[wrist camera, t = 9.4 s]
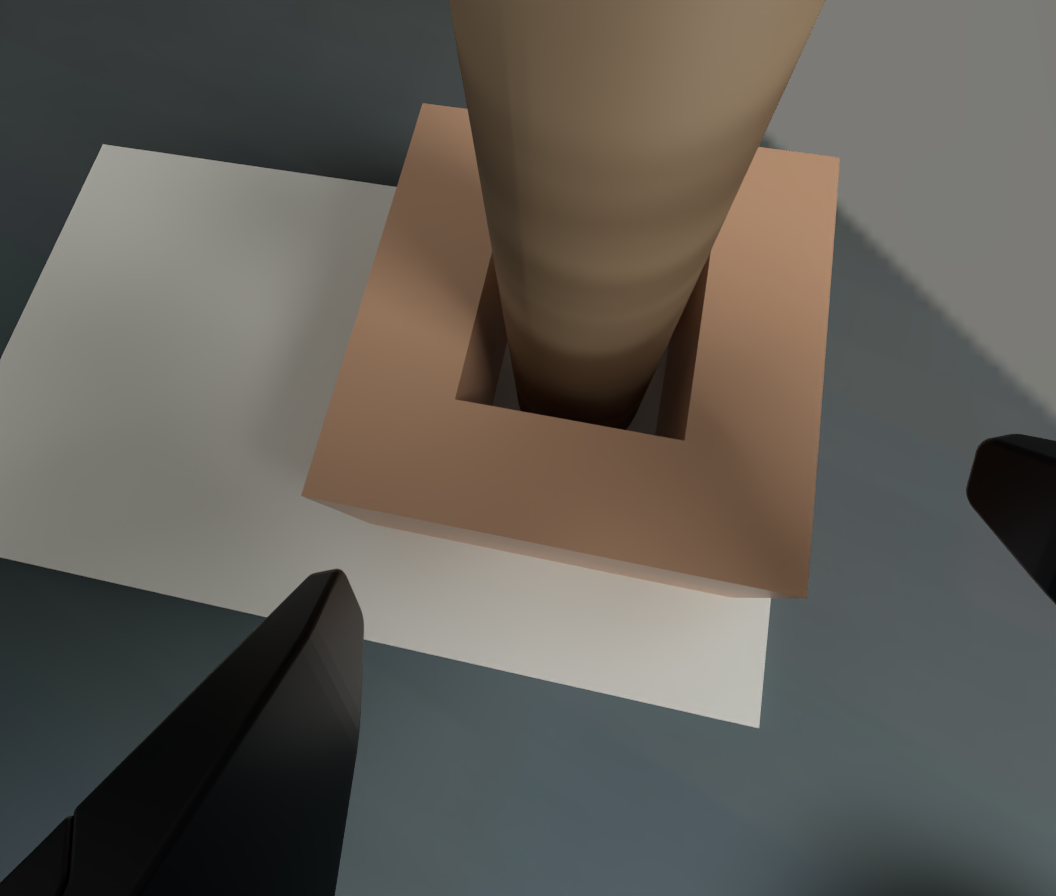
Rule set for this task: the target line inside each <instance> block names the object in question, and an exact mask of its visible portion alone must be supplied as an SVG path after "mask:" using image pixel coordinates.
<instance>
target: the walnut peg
mask: <svg viewBox="0 0 1056 896" xmlns="http://www.w3.org/2000/svg"><path fill="white" fill-rule="evenodd" d="M825 1H826V0H449V5H450V11H451V17H452V23H453V28H454V34H455V40H456V46H457V51H458V57H459V63H460V69H461V74H462V80H463V86H464V92H465V97H466V103H467V109H468V115H469V120H470V126H471V132H472V138H473V144H474V149H475V155H476V161H477V167H478V172H479V178H480V184H481V190H482V195H483V201H484V207H485V213H486V218H487V224H488V230H489V236H490V241H491V247H492V253H493V259H494V264H495V270H496V276H497V282H498V287H499V293H500V299H501V305H502V311H503V316H504V322H505V328H506V334H507V339H508V345H509V351H510V357H511V362H512V368H513V374H514V380H515V385H516V391H517V397H518V403H519V406H520V410H521V411H522V412H528V413H533V414H539V415H545V416H550V417H556V418H561V419H567V420H572V421H578V422H583V423H589V424H594V425H600V426H605V427H611V428H617V429H622V430H626V429H627V428H628V427H629V425H630V424H631V422H632V421H633V419H634V417H635V415H636V413H637V411H638V408H639V406H640V404H641V402H642V400H643V398H644V395H645V393H646V391H647V389H648V387H649V384H650V382H651V380H652V378H653V376H654V374H655V371H656V369H657V367H658V365H659V363H660V360H661V358H662V356H663V354H664V352H665V350H666V347H667V345H668V343H669V341H670V339H671V336H672V334H673V332H674V330H675V328H676V326H677V323H678V321H679V319H680V317H681V315H682V312H683V310H684V308H685V306H686V304H687V302H688V299H689V297H690V295H691V293H692V291H693V288H694V286H695V284H696V282H697V280H698V278H699V275H700V273H701V271H702V269H703V267H704V265H705V262H706V260H707V258H708V256H709V254H710V251H711V249H712V247H713V245H714V243H715V241H716V238H717V236H718V234H719V232H720V230H721V227H722V225H723V223H724V221H725V219H726V217H727V214H728V212H729V210H730V208H731V206H732V203H733V201H734V199H735V197H736V195H737V193H738V190H739V188H740V186H741V184H742V182H743V179H744V177H745V175H746V173H747V171H748V169H749V166H750V164H751V162H752V160H753V158H754V155H755V153H756V151H757V149H758V147H759V145H760V142H761V140H762V138H763V136H764V134H765V131H766V129H767V127H768V125H769V122H770V120H771V118H772V116H773V114H774V112H775V110H776V108H777V105H778V103H779V101H780V99H781V96H782V94H783V92H784V90H785V88H786V85H787V84H788V81H789V79H790V77H791V75H792V73H793V70H794V68H795V66H796V64H797V62H798V59H799V57H800V55H801V53H802V51H803V48H804V46H805V44H806V42H807V40H808V38H809V35H810V33H811V31H812V29H813V26H814V25H815V22H816V20H817V18H818V16H819V13H820V12H821V9H822V7H823V5H824V3H825Z"/></svg>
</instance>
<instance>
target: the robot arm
mask: <svg viewBox="0 0 1056 896" xmlns="http://www.w3.org/2000/svg"><path fill="white" fill-rule="evenodd" d="M966 494H967V498H968V500H969V502H970V504H971V506H972V507H973V508H974V510H975V511H976V512H977V513H978V514H979V516H980V517H981V518H982V519H983V520H984V522H985V523H986V524H987V525H988V526H989V528H990V529H991V530H992V531H993V532H994V533H995V535H996V536H997V537H998V538H999V539H1000V541H1001V542H1002V543H1003V544H1004V545H1005V547H1006V548H1007V549H1008V550H1009V551H1010V553H1011V554H1012V555H1013V556H1014V557H1015V559H1016V560H1017V561H1018V562H1019V563H1020V564H1021V566H1022V567H1023V568H1024V569H1025V570H1026V572H1027V573H1028V574H1029V575H1030V576H1031V578H1032V579H1033V580H1034V581H1035V582H1036V583H1037V584H1038V586H1039V587H1040V588H1041V589H1042V590H1043V591H1044V592H1045V594H1046V595H1047V596H1048V597H1049V598H1050V599H1051V600H1052V601H1053V602H1054V603H1055V604H1056V441H1054V440H1049V439H1043V438H1038V437H1033V436H1028V435H1023V434H1009V435H1004V436H999V437H994V438H989V439H986V440H984V441H983V442H982V443H981V444H980V445H979V446H978V448H977V450H976V454H975V457H974V461H973V465H972V469H971V472H970V476H969V480H968V483H967V488H966ZM363 642H364V619H363V614H362V611H361V608H360V606H359V603H358V601H357V599H356V597H355V594H354V592H353V590H352V587H351V585H350V583H349V580H348V578H347V576H346V574H345V573H344V572H343V571H342V570H340V569H331V570H326V571H321V572H316V573H313V574H311V575H309V576H308V577H307V578H306V579H305V580H304V581H303V582H302V583H301V584H300V585H299V586H298V587H297V588H296V589H295V590H294V591H293V592H292V593H291V594H290V595H289V596H288V597H287V598H286V599H285V600H284V601H283V602H282V603H281V604H280V605H279V606H278V607H277V608H276V609H275V610H274V611H273V612H272V613H271V614H270V615H269V616H268V617H267V618H266V619H265V620H264V621H263V622H262V623H261V624H260V625H259V626H258V627H257V628H256V629H255V630H254V631H253V632H252V633H251V634H250V635H249V636H248V637H247V638H246V639H245V640H244V641H243V642H242V643H241V644H240V645H239V646H238V647H237V648H236V649H235V650H234V651H233V652H232V653H231V654H230V655H229V656H228V657H227V658H226V659H225V660H224V661H223V662H222V663H221V664H220V665H219V666H218V667H217V668H216V669H215V670H214V671H213V672H212V673H211V674H210V675H209V676H208V677H207V678H206V679H205V680H204V681H203V682H202V683H201V684H200V685H199V686H198V687H197V688H196V689H195V690H194V691H193V692H192V693H191V694H190V695H189V696H188V697H187V698H186V699H185V700H184V701H183V702H182V703H181V704H180V705H179V706H178V707H177V708H176V709H175V710H174V711H173V712H172V713H171V714H170V715H169V716H168V717H167V718H166V719H165V720H164V721H163V722H162V723H161V724H160V725H159V726H158V727H157V728H156V729H155V730H154V731H153V732H152V733H151V734H150V735H149V736H148V737H147V738H146V739H145V740H144V741H143V742H142V743H141V744H140V745H139V746H138V747H137V748H136V749H135V750H134V751H133V752H132V753H131V754H130V755H129V756H128V757H127V758H126V759H125V760H124V761H123V762H122V763H121V764H120V765H119V766H118V767H117V768H116V769H115V770H114V771H113V772H112V773H111V774H110V775H109V776H108V777H107V778H106V779H105V780H104V781H103V782H102V783H101V784H99V785H98V786H97V787H96V788H95V789H94V790H93V791H92V792H91V793H90V794H89V795H88V796H87V797H86V798H85V799H84V800H83V801H82V802H81V803H80V804H79V805H78V806H77V808H76V809H75V811H74V816H68V817H67V818H65V819H64V820H63V821H62V822H61V823H60V824H59V825H58V826H57V827H56V828H55V829H54V830H53V831H52V832H51V833H50V834H49V835H48V836H47V837H46V838H45V839H44V840H43V841H42V842H41V843H40V844H39V845H38V846H37V847H36V848H35V849H34V850H33V851H32V852H31V853H30V854H29V855H28V856H27V857H26V858H25V859H24V860H23V861H22V862H21V863H20V864H19V865H18V866H17V867H16V868H15V869H14V870H13V871H12V872H11V873H10V874H9V875H8V876H7V877H6V878H5V879H4V880H2V881H1V882H0V896H335V890H336V884H337V877H338V871H339V865H340V858H341V852H342V845H343V839H344V832H345V826H346V819H347V813H348V806H349V800H350V793H351V787H352V780H353V774H354V768H355V761H356V755H357V747H358V739H359V730H360V714H361V690H362V666H363Z"/></svg>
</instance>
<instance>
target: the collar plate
mask: <svg viewBox="0 0 1056 896" xmlns="http://www.w3.org/2000/svg"><path fill="white" fill-rule="evenodd" d="M839 165H840V158H839V157H831V156H823V155H816V154H808V153H800V152H793V151H785V150H777V149H770V148H762V147H758V149H757V151H756V153H755V155H754V158H753V160H752V162H751V164H750V166H749V169H748V171H747V173H746V175H745V177H744V179H743V182H742V184H741V186H740V188H739V190H738V193H737V195H736V197H735V199H734V201H733V203H732V206H731V208H730V210H729V212H728V214H727V217H726V219H725V221H724V223H723V225H722V227H721V230H720V232H719V234H718V236H717V238H716V241H715V243H714V245H713V247H712V249H711V251H710V254H709V256H708V258H707V260H706V262H705V265H704V267H703V269H702V271H701V273H700V275H699V278H698V280H697V282H696V284H695V286H694V288H693V291H692V293H691V295H690V297H689V299H688V302H687V304H686V306H685V308H684V310H683V312H682V315H681V317H680V319H679V321H678V323H677V326H676V328H675V330H674V332H673V334H672V336H671V339H670V341H669V343H668V345H667V347H666V350H665V352H664V354H663V356H662V358H661V360H660V363H659V365H658V367H657V369H656V371H655V374H654V376H653V378H652V380H651V382H650V384H649V387H648V389H647V391H646V393H645V395H644V398H643V400H642V402H641V404H640V406H639V408H638V411H637V413H636V415H635V417H634V419H633V421H632V422H631V424H630V425H629V427H628V428H627V429H626V430H622V429H617V428H611V427H605V426H600V425H594V424H589V423H583V422H578V421H572V420H567V419H561V418H556V417H550V416H545V415H539V414H533V413H528V412H522V411H521V410H520V406H519V403H518V397H517V391H516V385H515V380H514V374H513V368H512V362H511V357H510V351H509V345H508V339H507V334H506V328H505V322H504V316H503V311H502V305H501V299H500V293H499V287H498V282H497V276H496V270H495V264H494V259H493V253H492V247H491V241H490V236H489V230H488V224H487V218H486V213H485V207H484V201H483V195H482V190H481V184H480V178H479V172H478V167H477V161H476V155H475V149H474V144H473V138H472V132H471V126H470V120H469V115H468V109H463V108H455V107H447V106H440V105H432V104H424V103H423V104H422V107H421V111H420V114H419V117H418V120H417V124H416V127H415V130H414V133H413V136H412V140H411V143H410V146H409V149H408V153H407V156H406V159H405V162H404V165H403V169H402V172H401V175H400V178H399V182H398V185H397V187H393V186H386V185H379V184H372V183H366V182H359V181H352V180H345V179H338V178H331V177H324V176H317V175H311V174H304V173H297V172H290V171H283V170H276V169H269V168H262V167H256V166H249V165H242V164H235V163H228V162H221V161H214V160H207V159H201V158H194V157H187V156H180V155H173V154H166V153H159V152H152V151H145V150H139V149H132V148H125V147H118V146H111V145H104V144H103V145H102V147H101V150H100V152H99V154H98V156H97V158H96V160H95V162H94V164H93V166H92V168H91V170H90V173H89V175H88V177H87V179H86V181H85V183H84V185H83V187H82V189H81V191H80V194H79V196H78V198H77V200H76V202H75V204H74V206H73V208H72V210H71V212H70V214H69V217H68V219H67V221H66V223H65V225H64V227H63V229H62V231H61V233H60V235H59V238H58V240H57V242H56V244H55V246H54V248H53V250H52V252H51V254H50V256H49V258H48V261H47V263H46V265H45V267H44V269H43V271H42V273H41V275H40V277H39V279H38V281H37V284H36V286H35V288H34V290H33V292H32V294H31V296H30V298H29V300H28V302H27V305H26V307H25V309H24V311H23V313H22V315H21V317H20V319H19V321H18V323H17V325H16V328H15V330H14V332H13V334H12V336H11V338H10V340H9V342H8V344H7V346H6V349H5V351H4V353H3V355H2V357H1V359H0V557H1V558H5V559H10V560H14V561H19V562H23V563H28V564H32V565H36V566H41V567H45V568H50V569H54V570H59V571H63V572H67V573H72V574H76V575H81V576H85V577H90V578H94V579H99V580H103V581H107V582H112V583H116V584H121V585H125V586H130V587H134V588H139V589H143V590H147V591H152V592H156V593H161V594H165V595H170V596H174V597H178V598H183V599H187V600H192V601H196V602H201V603H205V604H210V605H214V606H218V607H223V608H227V609H232V610H236V611H241V612H245V613H250V614H254V615H258V616H263V617H268V616H269V615H270V614H271V613H272V612H273V611H274V610H275V609H276V608H277V607H278V606H279V605H280V604H281V603H282V602H283V601H284V600H285V599H286V598H287V597H288V596H289V595H290V594H291V593H292V592H293V591H294V590H295V589H296V588H297V587H298V586H299V585H300V584H301V583H302V582H303V581H304V580H305V579H306V578H307V577H308V576H309V575H311V574H313V573H316V572H321V571H326V570H331V569H340V570H342V571H343V572H344V573H345V574H346V576H347V578H348V580H349V583H350V585H351V587H352V590H353V592H354V594H355V597H356V599H357V601H358V603H359V606H360V608H361V611H362V614H363V619H364V639H365V640H369V641H374V642H378V643H383V644H387V645H392V646H396V647H400V648H405V649H409V650H414V651H418V652H423V653H427V654H432V655H436V656H440V657H445V658H449V659H454V660H458V661H463V662H467V663H472V664H476V665H480V666H485V667H489V668H494V669H498V670H503V671H507V672H511V673H516V674H520V675H525V676H529V677H534V678H538V679H543V680H547V681H551V682H556V683H560V684H565V685H569V686H574V687H578V688H583V689H587V690H591V691H596V692H600V693H605V694H609V695H614V696H618V697H622V698H627V699H631V700H636V701H640V702H645V703H649V704H654V705H658V706H662V707H667V708H671V709H676V710H680V711H685V712H689V713H694V714H698V715H702V716H707V717H711V718H716V719H720V720H725V721H729V722H733V723H738V724H742V725H747V726H751V727H756V728H759V722H760V711H761V700H762V689H763V678H764V667H765V656H766V645H767V634H768V623H769V612H770V601H771V598H807V591H808V577H809V564H810V551H811V537H812V524H813V511H814V497H815V484H816V471H817V458H818V444H819V431H820V418H821V404H822V391H823V378H824V364H825V351H826V338H827V325H828V311H829V298H830V285H831V271H832V258H833V245H834V231H835V218H836V205H837V192H838V178H839V177H838V176H839Z"/></svg>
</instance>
